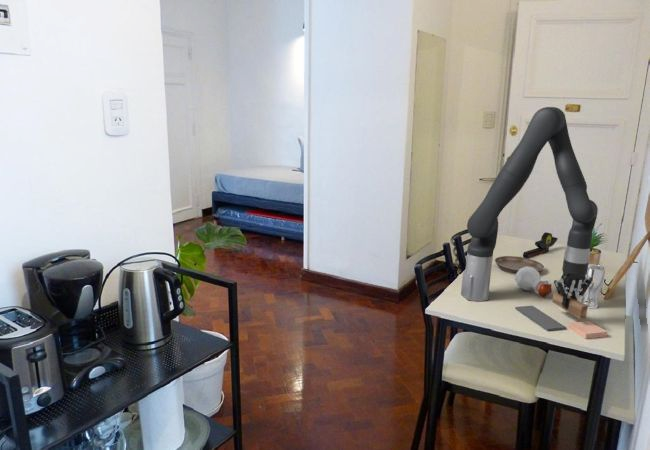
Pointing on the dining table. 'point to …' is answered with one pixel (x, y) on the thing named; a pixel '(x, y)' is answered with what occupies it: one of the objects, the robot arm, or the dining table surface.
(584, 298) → the silver upright cylinder
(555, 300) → the bar
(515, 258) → the plant saucer
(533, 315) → the mat
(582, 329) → the glazed tile
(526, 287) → the potion bottle
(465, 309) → the dining table surface
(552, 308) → the dining table surface
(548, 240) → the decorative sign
